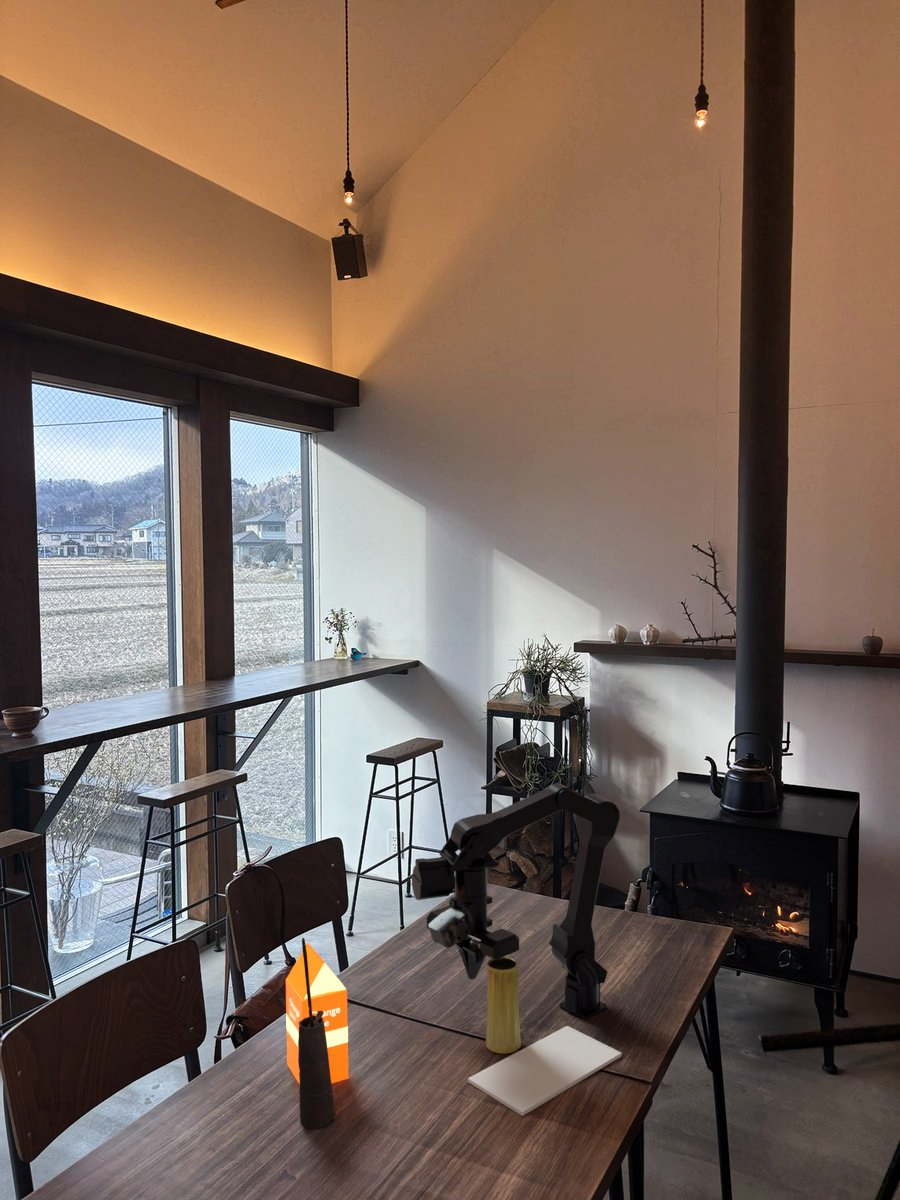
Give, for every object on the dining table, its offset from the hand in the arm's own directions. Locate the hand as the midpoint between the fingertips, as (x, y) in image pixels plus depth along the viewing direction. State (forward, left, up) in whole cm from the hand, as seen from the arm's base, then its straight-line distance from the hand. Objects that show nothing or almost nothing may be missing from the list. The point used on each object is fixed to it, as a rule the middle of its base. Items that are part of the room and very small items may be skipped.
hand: (472, 978), depth 158 cm
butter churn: (+34, +3, -9) cm, 35 cm away
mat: (0, +18, -9) cm, 20 cm away
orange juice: (+28, -7, -9) cm, 30 cm away
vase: (0, +8, -9) cm, 12 cm away
